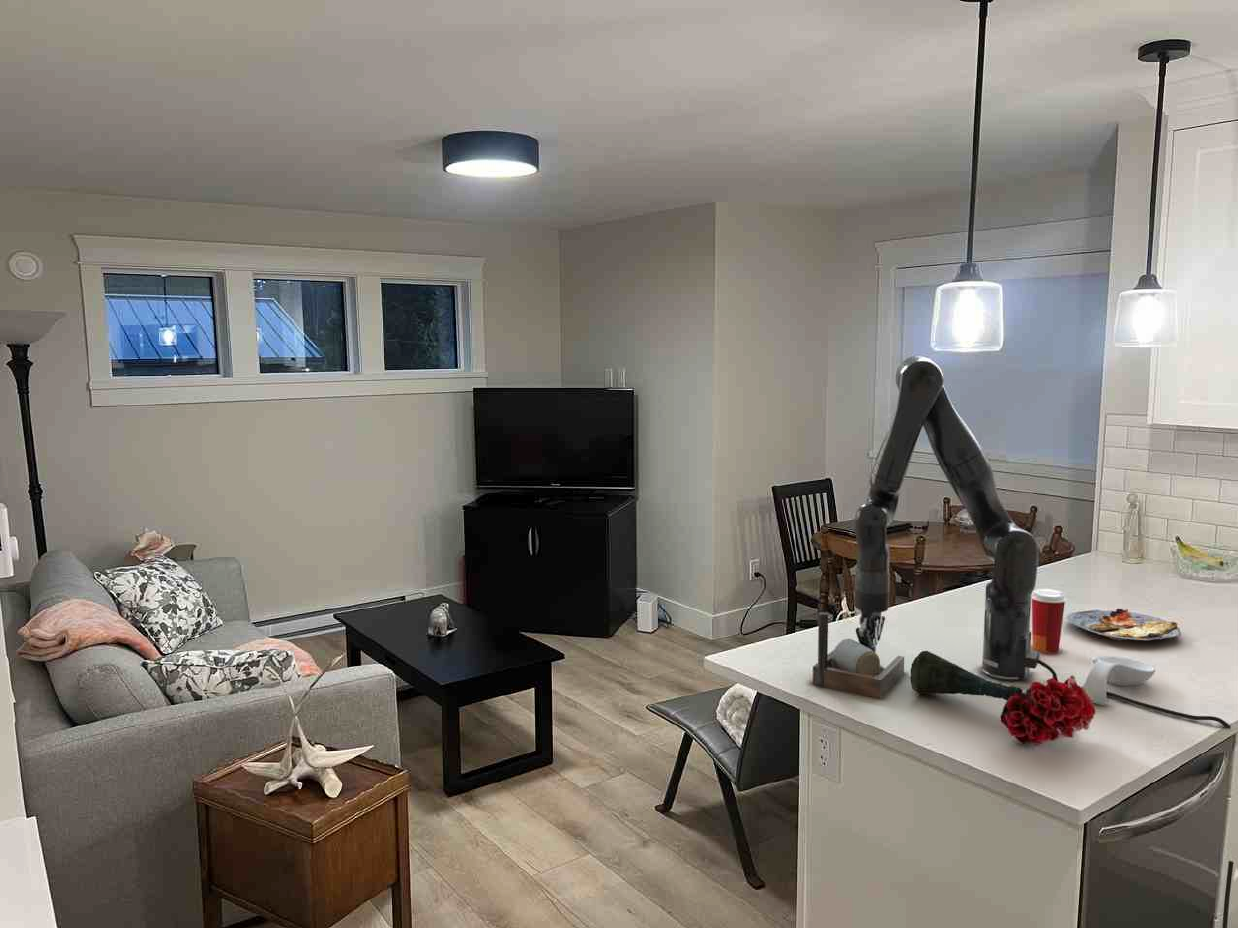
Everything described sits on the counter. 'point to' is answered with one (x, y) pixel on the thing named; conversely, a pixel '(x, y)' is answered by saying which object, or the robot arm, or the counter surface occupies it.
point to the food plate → (1124, 625)
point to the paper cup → (1047, 620)
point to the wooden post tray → (848, 680)
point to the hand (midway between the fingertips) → (869, 661)
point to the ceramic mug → (856, 658)
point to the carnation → (1012, 699)
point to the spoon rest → (1115, 675)
